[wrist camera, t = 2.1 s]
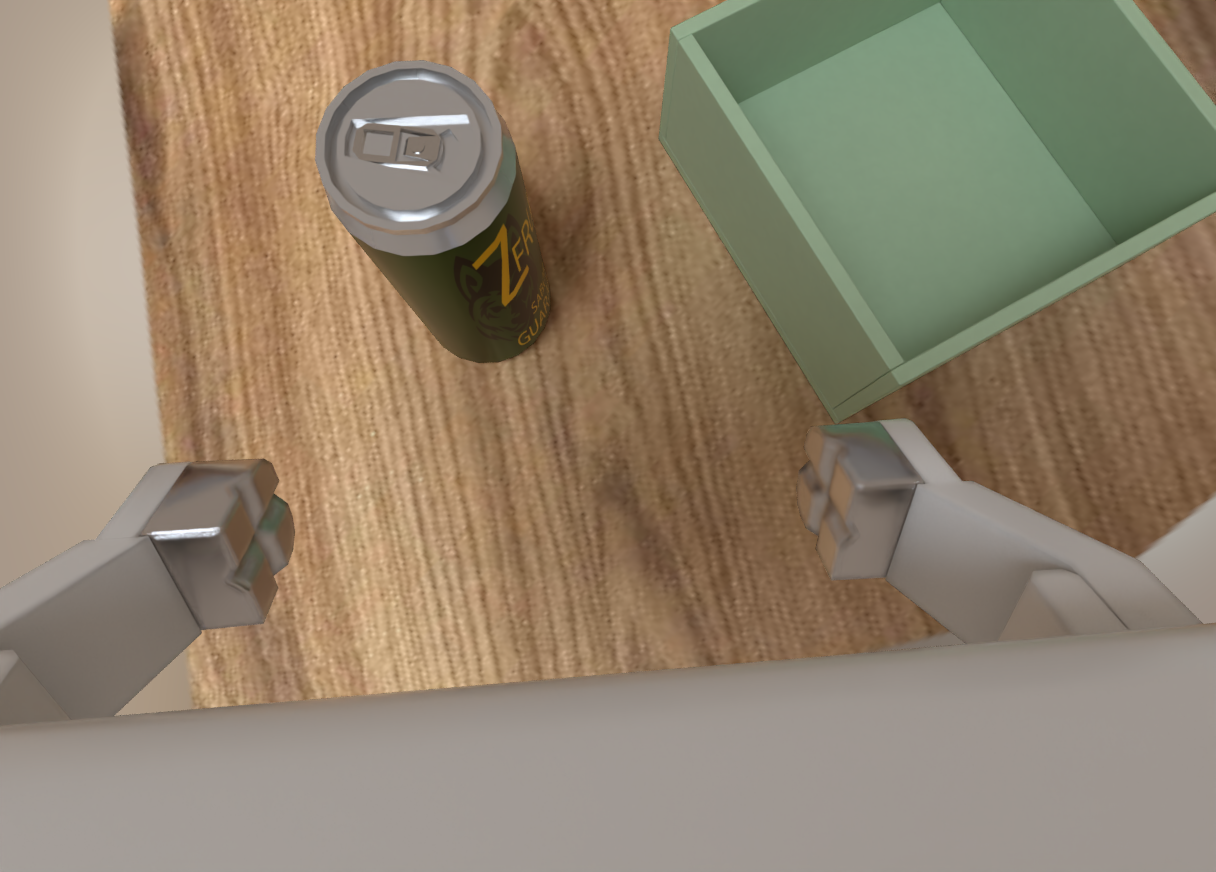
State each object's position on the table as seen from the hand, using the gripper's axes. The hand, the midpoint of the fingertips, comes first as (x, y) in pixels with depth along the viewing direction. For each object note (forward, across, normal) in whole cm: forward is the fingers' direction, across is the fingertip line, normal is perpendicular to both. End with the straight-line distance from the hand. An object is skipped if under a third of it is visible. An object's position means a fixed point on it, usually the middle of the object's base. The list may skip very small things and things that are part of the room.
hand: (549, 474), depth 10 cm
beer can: (+20, +2, +6) cm, 21 cm away
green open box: (+21, -16, +2) cm, 26 cm away
